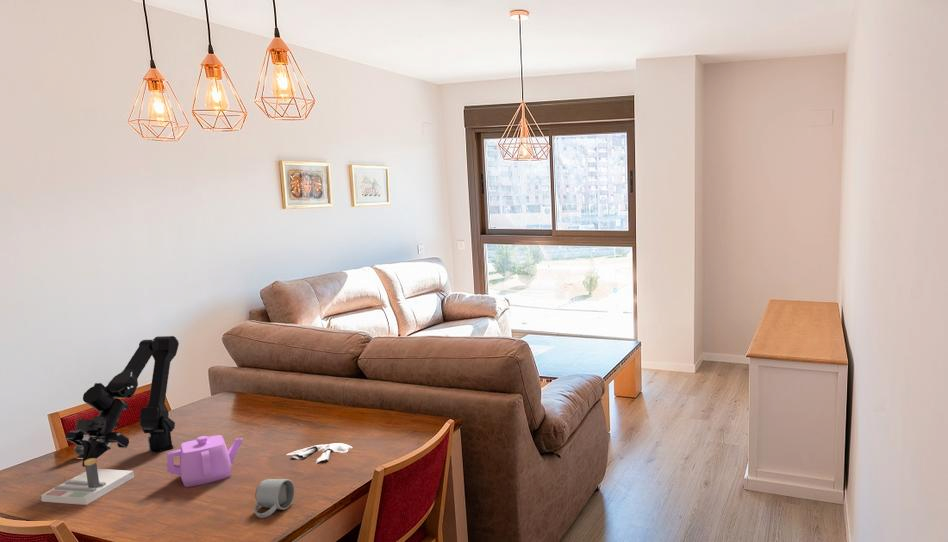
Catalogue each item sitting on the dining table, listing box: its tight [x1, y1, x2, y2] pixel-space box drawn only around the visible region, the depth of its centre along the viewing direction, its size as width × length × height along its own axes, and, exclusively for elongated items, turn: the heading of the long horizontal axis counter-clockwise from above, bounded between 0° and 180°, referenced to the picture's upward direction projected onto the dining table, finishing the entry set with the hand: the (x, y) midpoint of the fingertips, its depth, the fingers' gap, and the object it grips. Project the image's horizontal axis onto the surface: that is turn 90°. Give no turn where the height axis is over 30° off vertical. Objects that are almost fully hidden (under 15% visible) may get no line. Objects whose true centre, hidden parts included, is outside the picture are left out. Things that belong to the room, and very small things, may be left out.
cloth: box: [286, 442, 353, 465], centre depth 209 cm, size 20×22×2 cm
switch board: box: [40, 468, 135, 506], centre depth 195 cm, size 18×16×3 cm
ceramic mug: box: [253, 478, 295, 519], centre depth 174 cm, size 11×8×8 cm
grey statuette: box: [73, 430, 89, 458], centre depth 220 cm, size 6×6×12 cm
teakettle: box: [166, 434, 243, 488], centre depth 198 cm, size 17×17×12 cm
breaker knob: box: [84, 458, 100, 488], centre depth 190 cm, size 2×2×8 cm
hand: (84, 466), depth 191 cm, fingers closed
